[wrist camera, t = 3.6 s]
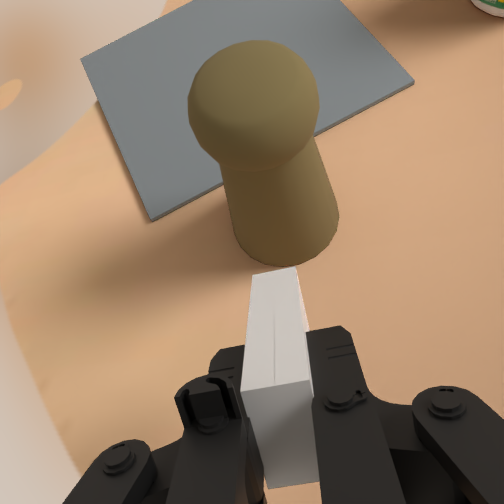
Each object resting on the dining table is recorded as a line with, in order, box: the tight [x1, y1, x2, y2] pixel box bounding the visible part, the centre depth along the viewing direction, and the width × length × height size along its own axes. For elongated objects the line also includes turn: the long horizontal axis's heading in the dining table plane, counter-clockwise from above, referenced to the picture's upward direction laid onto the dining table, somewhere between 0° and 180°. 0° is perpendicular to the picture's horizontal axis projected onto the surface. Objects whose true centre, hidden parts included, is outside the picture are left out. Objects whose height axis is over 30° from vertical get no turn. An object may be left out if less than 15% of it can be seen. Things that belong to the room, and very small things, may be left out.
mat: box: [81, 0, 415, 222], centre depth 32 cm, size 18×16×1 cm
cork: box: [187, 40, 339, 267], centre depth 22 cm, size 6×6×11 cm
